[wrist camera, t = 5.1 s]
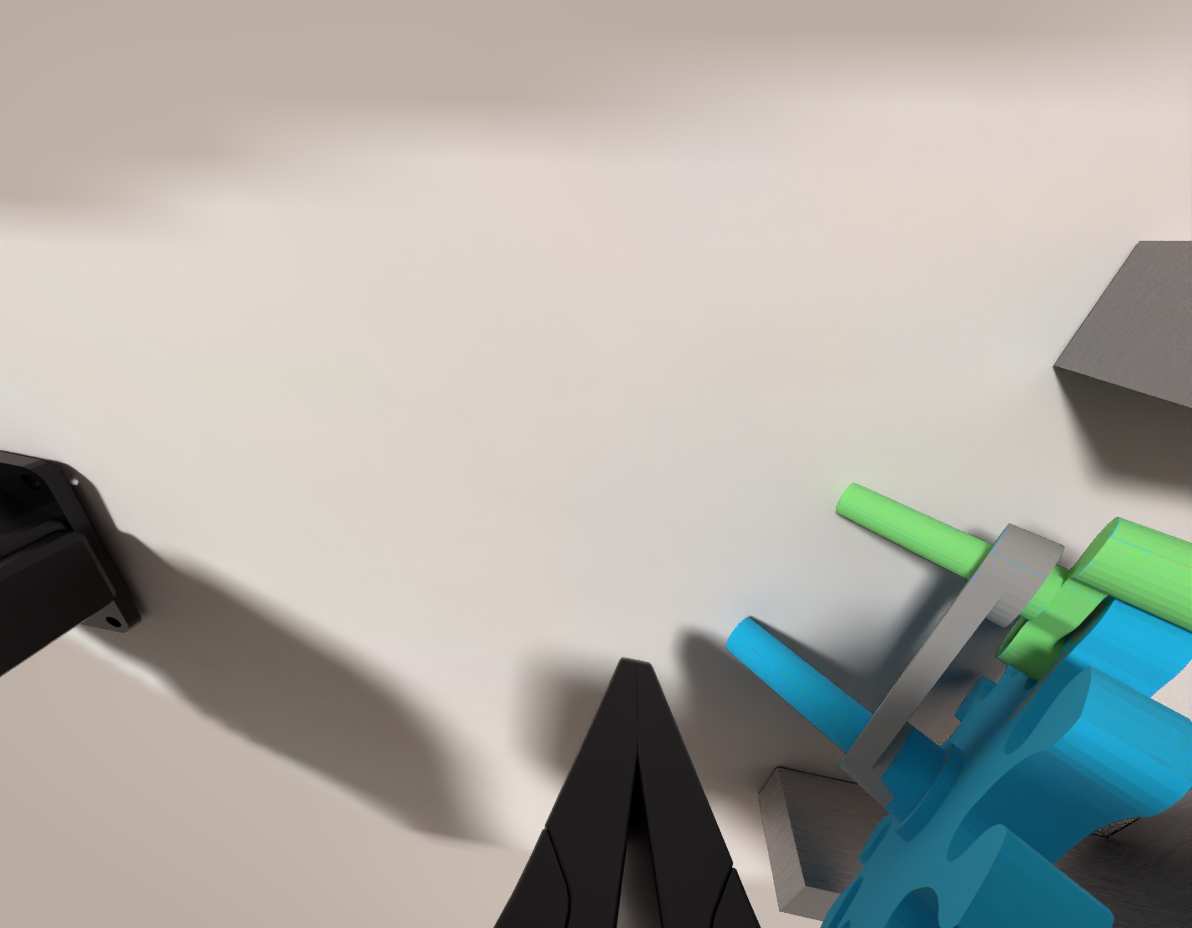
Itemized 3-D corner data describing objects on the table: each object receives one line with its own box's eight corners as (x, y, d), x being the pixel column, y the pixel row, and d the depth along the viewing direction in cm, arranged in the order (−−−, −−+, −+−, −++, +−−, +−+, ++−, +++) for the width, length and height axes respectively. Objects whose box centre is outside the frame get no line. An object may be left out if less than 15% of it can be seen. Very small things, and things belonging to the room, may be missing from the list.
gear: (932, 847, 12) (781, 1355, 6) (755, 689, 16) (540, 875, 9) (1230, 527, 8) (1945, 934, 2) (902, 420, 12) (714, 409, 5)
